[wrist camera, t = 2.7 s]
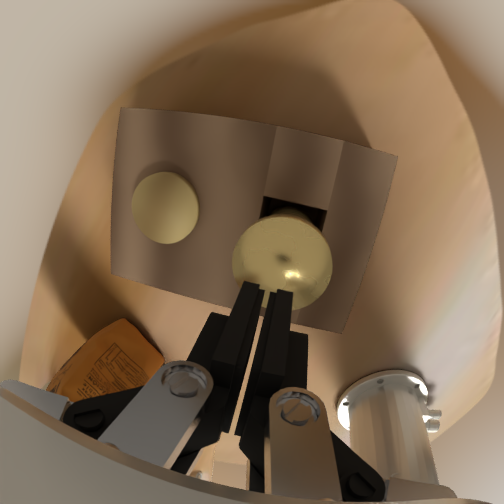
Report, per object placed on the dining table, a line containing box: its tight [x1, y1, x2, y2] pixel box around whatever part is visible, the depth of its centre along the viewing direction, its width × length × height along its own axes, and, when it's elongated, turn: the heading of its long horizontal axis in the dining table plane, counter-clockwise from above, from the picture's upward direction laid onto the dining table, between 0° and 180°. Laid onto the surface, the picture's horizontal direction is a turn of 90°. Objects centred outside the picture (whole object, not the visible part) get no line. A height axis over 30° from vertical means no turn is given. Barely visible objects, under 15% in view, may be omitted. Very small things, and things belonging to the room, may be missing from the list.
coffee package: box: [46, 318, 165, 402], centre depth 29 cm, size 10×12×22 cm
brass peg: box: [232, 204, 333, 310], centre depth 19 cm, size 5×5×8 cm
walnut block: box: [111, 108, 398, 334], centre depth 25 cm, size 20×14×9 cm
